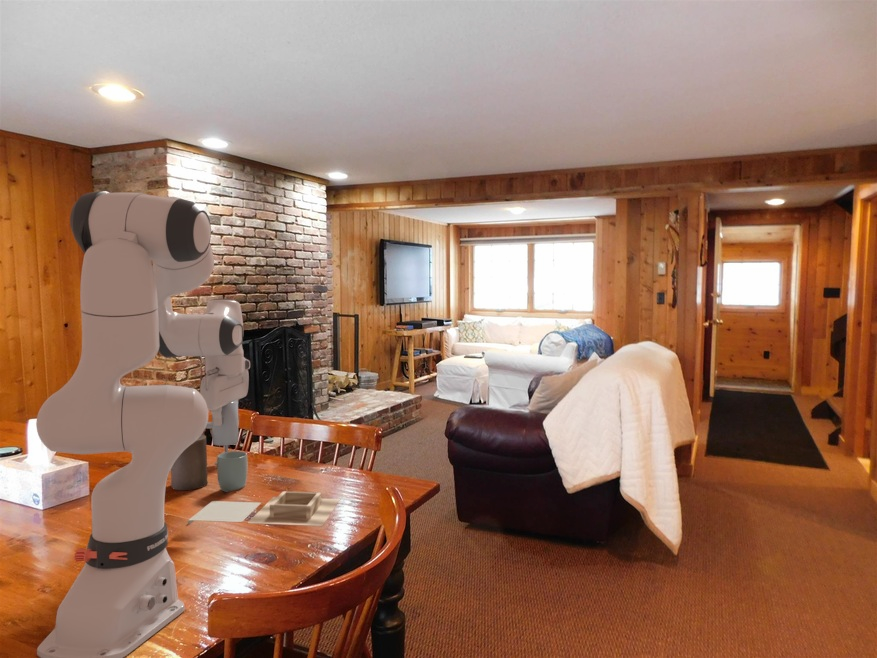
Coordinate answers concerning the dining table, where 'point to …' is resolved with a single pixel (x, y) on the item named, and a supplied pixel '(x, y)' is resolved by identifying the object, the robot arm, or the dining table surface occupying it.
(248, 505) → the mat
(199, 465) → the pillar candle
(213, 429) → the light blue mug
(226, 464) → the cup
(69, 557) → the dining table surface
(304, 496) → the holder
